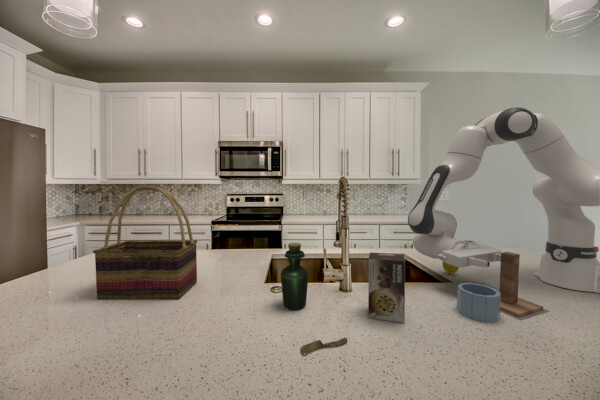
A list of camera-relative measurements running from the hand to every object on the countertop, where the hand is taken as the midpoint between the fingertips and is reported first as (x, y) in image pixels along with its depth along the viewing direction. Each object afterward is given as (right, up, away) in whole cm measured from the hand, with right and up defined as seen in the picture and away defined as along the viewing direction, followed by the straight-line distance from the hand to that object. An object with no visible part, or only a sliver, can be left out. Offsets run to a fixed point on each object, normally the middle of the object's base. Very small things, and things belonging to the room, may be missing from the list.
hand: (498, 262), depth 74 cm
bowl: (-11, -12, -7) cm, 18 cm away
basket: (-108, -12, +9) cm, 109 cm away
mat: (+1, -12, -2) cm, 12 cm away
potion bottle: (-61, -12, -1) cm, 62 cm away
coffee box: (-36, -13, -7) cm, 39 cm away
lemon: (0, -11, +24) cm, 27 cm away
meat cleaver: (-54, -14, -20) cm, 59 cm away
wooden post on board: (+1, -12, -2) cm, 12 cm away
